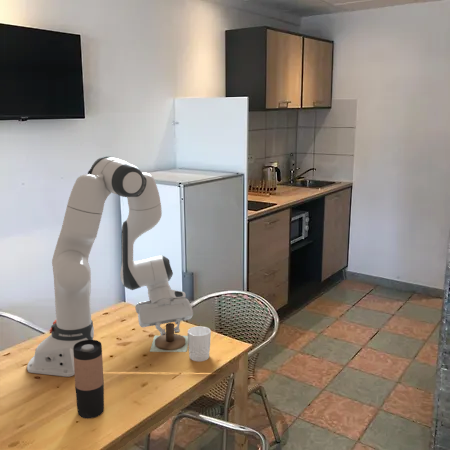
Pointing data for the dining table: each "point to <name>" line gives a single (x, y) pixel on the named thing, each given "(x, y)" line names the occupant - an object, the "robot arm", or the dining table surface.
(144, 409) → the dining table surface
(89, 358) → the travel mug
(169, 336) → the lid
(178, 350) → the mat
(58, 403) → the dining table surface
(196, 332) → the white cup
